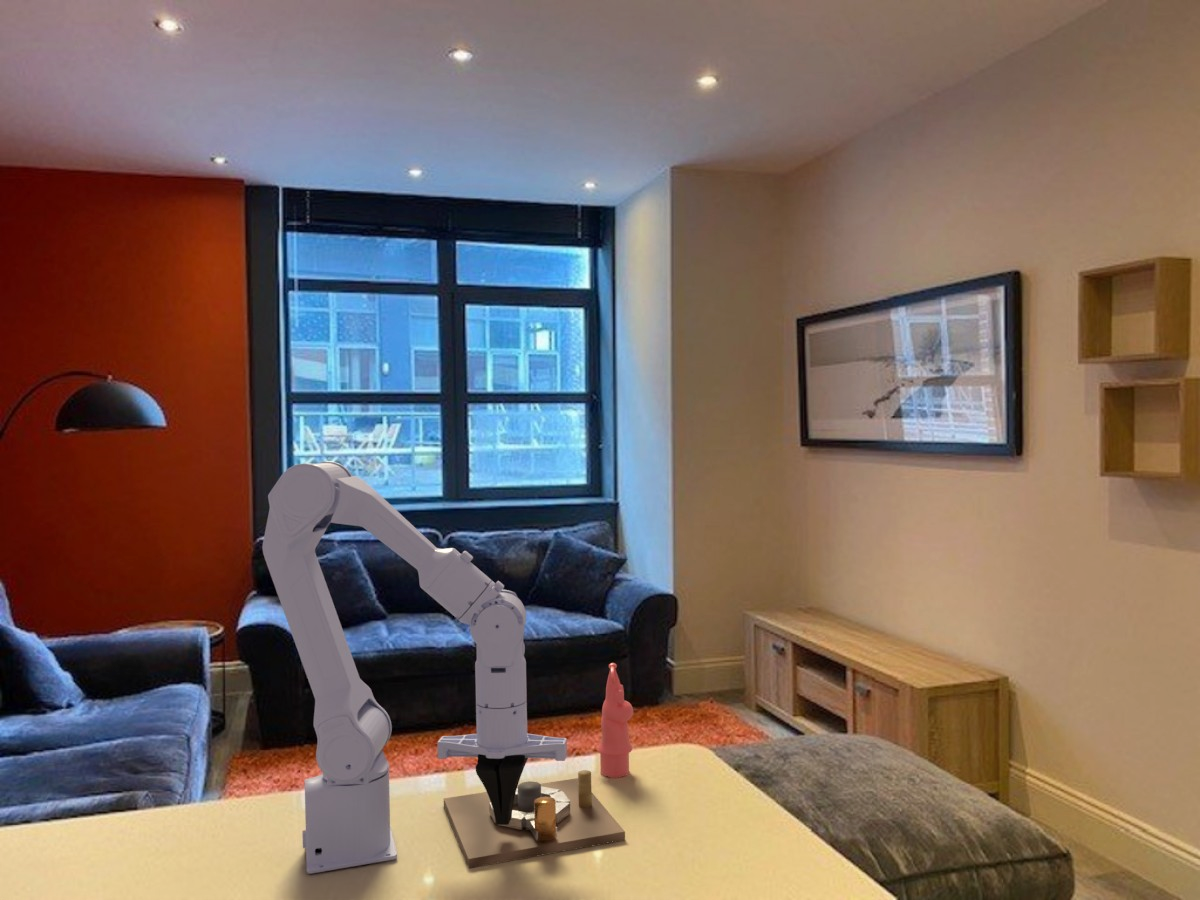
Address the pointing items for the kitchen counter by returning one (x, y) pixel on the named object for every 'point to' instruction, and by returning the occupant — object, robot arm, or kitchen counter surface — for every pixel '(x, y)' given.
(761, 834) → the kitchen counter surface
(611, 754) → the figurine
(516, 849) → the peg base
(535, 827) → the white segmented ring
